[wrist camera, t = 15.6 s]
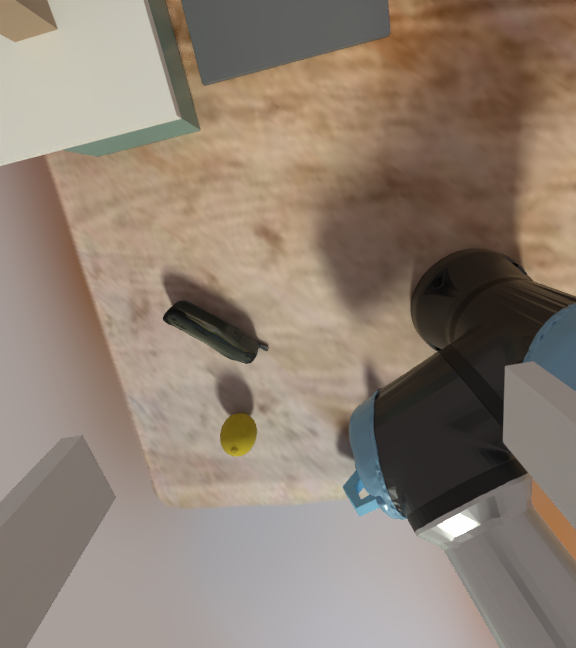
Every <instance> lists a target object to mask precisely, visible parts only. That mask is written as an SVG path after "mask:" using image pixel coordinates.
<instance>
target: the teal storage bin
mask: <svg viewBox="0 0 576 648" xmlns="http://www.w3.org/2000/svg"><path fill="white" fill-rule="evenodd" d="M148 2H149V6H150V9H151V13H152V16H153V20H154V23H155V27H156V30H157V34H158V37H159V41H160V44H161V48H162V51H163V55H164V58H165V62H166V66H167V69H168V73H169V76H170V80H171V83H172V87H173V90H174V94H175V97H176V101H177V104H178V108H179V111H180V115H181V118H182V119H179V120H175V121H171V122H167V123H163V124H159V125H156V126H152V127H148V128H144V129H140V130H136V131H133V132H129V133H125V134H121V135H117V136H113V137H109V138H106V139H102V140H98V141H94V142H90V143H86V144H83V145H79V146H75V147H71V148H67V149H63V150H64V151H70V152H75V153H80V154H86V155H91V156H96V157H99V156H103V155H107V154H111V153H114V152H118V151H122V150H126V149H130V148H134V147H138V146H142V145H146V144H150V143H154V142H158V141H162V140H165V139H169V138H173V137H177V136H181V135H185V134H189V133H193V132H197V131H200V127H199V123H198V120H197V116H196V112H195V108H194V105H193V101H192V97H191V94H190V90H189V86H188V82H187V79H186V75H185V71H184V68H183V64H182V60H181V56H180V53H179V49H178V45H177V41H176V38H175V34H174V30H173V27H172V23H171V19H170V15H169V12H168V8H167V4H166V1H165V0H148Z"/></svg>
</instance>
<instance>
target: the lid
mask: <svg viewBox="0 0 576 648" xmlns="http://www.w3.org/2000/svg"><path fill="white" fill-rule="evenodd" d="M179 119H182V118H181V115H180V111H179V108H178V104H177V101H176V97H175V94H174V90H173V87H172V83H171V80H170V76H169V73H168V69H167V66H166V62H165V58H164V55H163V51H162V48H161V44H160V41H159V37H158V34H157V30H156V27H155V23H154V20H153V16H152V13H151V9H150V6H149V2H148V0H0V166H2V165H6V164H9V163H13V162H17V161H21V160H25V159H29V158H32V157H36V156H40V155H44V154H48V153H52V152H56V151H59V150H63V149H67V148H71V147H75V146H79V145H83V144H86V143H90V142H94V141H98V140H102V139H106V138H109V137H113V136H117V135H121V134H125V133H129V132H133V131H136V130H140V129H144V128H148V127H152V126H156V125H159V124H163V123H167V122H171V121H175V120H179Z"/></svg>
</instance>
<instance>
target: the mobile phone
mask: <svg viewBox="0 0 576 648" xmlns="http://www.w3.org/2000/svg"><path fill="white" fill-rule="evenodd" d="M163 320H164V321H165V322H166V323H168V324H170V325H172V326H174V327H176V328H178V329H180V330H182V331H184V332H186V333H188V334H189V335H191V336H193V337H195V338H197V339H198V340H200V341H202V342H204V343H206V344H207V345H209V346H210V347H212V348H213V349H215V350H216V351H218V352H219V353H220V354H222V355H223V356H225V357H227V358H229V359H231V360H236V361H239V362H242V363H246V364H248V363H251V362H252V361H253V360H254V359H255V357H256V355H257V352H258V349H259V348H261V349H263V350H265V351H268V349H269V348H268V347H267V346H265V345H263V344H261V343H258V342H256V341H254V340H252V339H250V338H249V337H247V336H245V335H244V334H242V333H241V332H240V331H239V330H238V329H236V328H235V327H233V326H231V325H229V324H227V323H225V322H224V321H222V320H220V319H218V318H217V317H215V316H214V315H212V314H210V313H208V312H206V311H204V310H202V309H201V308H199V307H197V306H195V305H193V304H192V303H189V302H187V301H179V302H177V303H176V304H174V305H173V306H172V307H171V308H170V309H169V310H168V311H167V312H166V313H165V315H164V317H163Z"/></svg>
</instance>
